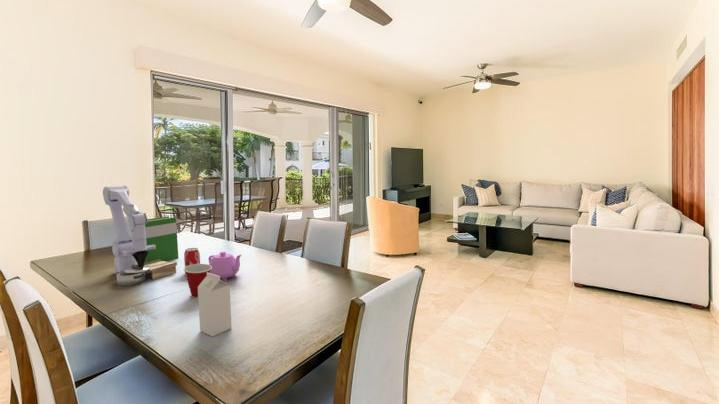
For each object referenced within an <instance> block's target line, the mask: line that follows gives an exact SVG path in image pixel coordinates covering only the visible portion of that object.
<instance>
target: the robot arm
mask: <svg viewBox="0 0 719 404" xmlns="http://www.w3.org/2000/svg"><path fill="white" fill-rule="evenodd" d="M102 189H103V190H102V196H103V197H102V198H103V200H104V203H105V205H107V206H108V207H109V209H110V213H111V217H112V220H113V227H114V229H115V233H116V238H115V239H114V240H113V241H112V242H111V246H112V247H111V248H112V249H111V251H112V254H113V255H114V259H113V264H114V265H113V266H114V268H113V269H114V271H112V273H113V274H114V275H116V273H117V272H121V271H124V270H125V269H127V268H130V267H132V265H139V266H143V267H144V263H145V259H146V257H147V255H148V251H147V250H151V249H156V245H148V246H147V244H146V231H145V225H146V224H147V219H148V217H147V214H146V212H142V211H141V210H140V209H139V208H138V206H137V205H136V204H135V203H132V201H131V199H130V197H129V196H130V189H129V187H128V186H127V185H118V186H104V187H103V188H102ZM122 207H123V208H122ZM124 214H125V215H124ZM125 216H126V217H127V222H126V219H125ZM127 223H128V226H127ZM128 227H129V230H130V231H131V232H130V235H129V230H128Z"/></svg>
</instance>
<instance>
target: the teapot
mask: <svg viewBox="0 0 719 404" xmlns="http://www.w3.org/2000/svg"><path fill="white" fill-rule="evenodd" d="M241 256H242V254H238V255H237V256H236V257H235V256H234V255H233V253H227V252H226V251H221V252H219V254H216V255H214V254H212V255H210V256H209V257H208V265H211V266H212V269H211V270H210V273H211V274H214V275H217V276H220V279H221V280H222V281H223V282H226V281H228V278H230V277H231V278H233V277H234V278H235V277H237V275H236V274H237V273H239V271H240V266H241V263H240V258H241Z"/></svg>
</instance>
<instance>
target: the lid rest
mask: <svg viewBox="0 0 719 404" xmlns="http://www.w3.org/2000/svg"><path fill="white" fill-rule="evenodd" d="M144 265H146V266H150V267H151V269H150V270H148V271H145V274H146V275H148V274H151V280H156V279H159V278H163V277H166V276H169V275H172V274H175V273H177V266H178V262H177V261H176V262H171V261H161V260H160V259H159V260H156V261H152V262H148V263H145V264H144Z"/></svg>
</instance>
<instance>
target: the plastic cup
mask: <svg viewBox="0 0 719 404" xmlns="http://www.w3.org/2000/svg"><path fill="white" fill-rule="evenodd" d="M211 269H212V266H211V265H209V263H208V264H207V263H200V264H193V265H189V266H186V267H185V266H184V267H183V272H184V274H185V277H186V281H187V284H188V288H189V291H190V295H191V296H192V297H193V298H198V286H199V285H200V284H201V282H202V281H203V280H204V279H205V277H206V276H207V272H208V273H210V270H211Z"/></svg>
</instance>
